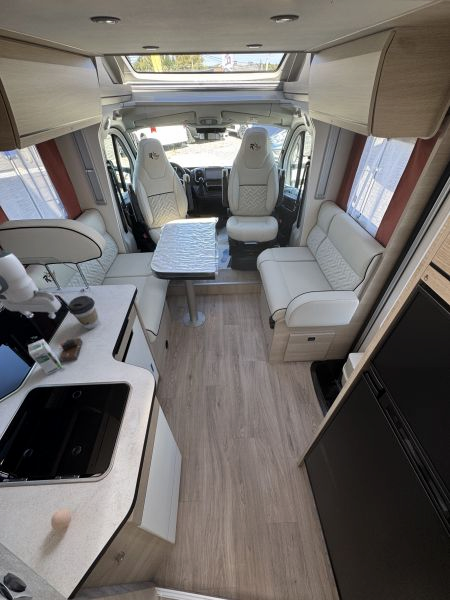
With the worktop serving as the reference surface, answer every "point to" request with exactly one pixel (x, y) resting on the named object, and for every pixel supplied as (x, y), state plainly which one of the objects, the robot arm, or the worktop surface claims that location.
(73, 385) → the worktop surface
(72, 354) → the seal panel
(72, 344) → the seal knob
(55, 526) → the egg
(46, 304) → the robot arm
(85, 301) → the coffee cup
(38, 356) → the syrup box
